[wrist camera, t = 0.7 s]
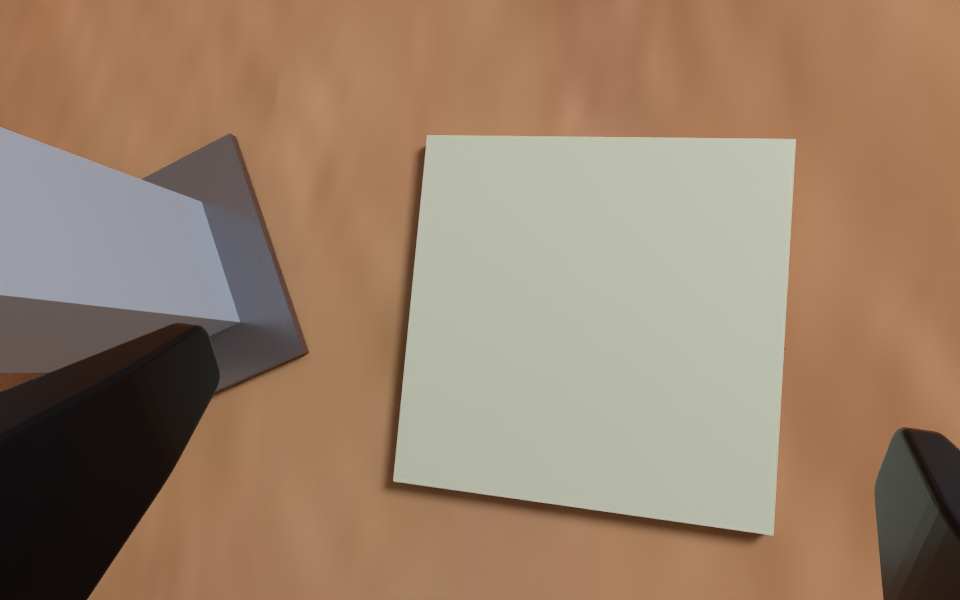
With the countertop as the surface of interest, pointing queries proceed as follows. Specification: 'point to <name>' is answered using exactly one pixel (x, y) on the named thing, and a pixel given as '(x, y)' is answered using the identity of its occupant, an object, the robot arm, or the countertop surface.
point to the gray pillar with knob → (96, 259)
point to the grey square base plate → (239, 261)
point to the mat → (601, 324)
